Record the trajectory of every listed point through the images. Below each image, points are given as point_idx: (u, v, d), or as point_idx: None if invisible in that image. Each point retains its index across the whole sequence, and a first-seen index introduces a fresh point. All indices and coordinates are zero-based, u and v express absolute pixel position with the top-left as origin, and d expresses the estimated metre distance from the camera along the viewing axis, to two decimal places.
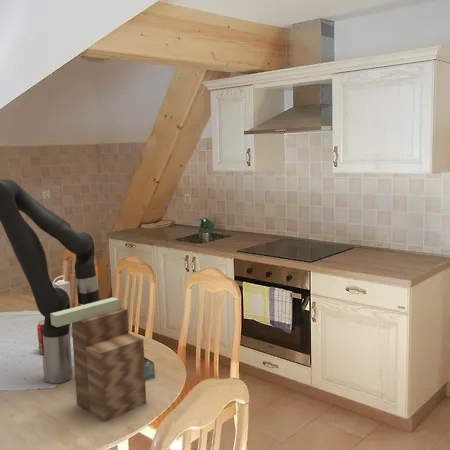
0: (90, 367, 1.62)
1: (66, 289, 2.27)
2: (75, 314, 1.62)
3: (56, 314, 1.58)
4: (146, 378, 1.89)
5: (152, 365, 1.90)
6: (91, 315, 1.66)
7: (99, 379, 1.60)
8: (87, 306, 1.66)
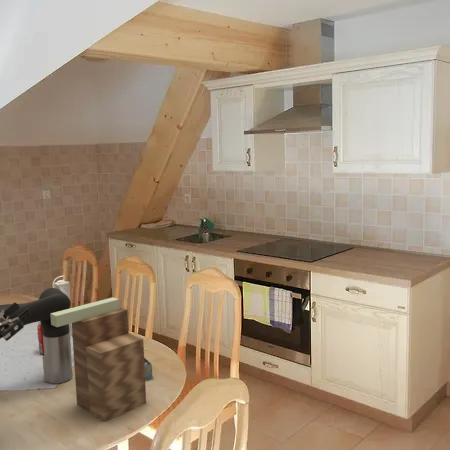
0: (90, 367, 1.62)
1: (66, 289, 2.27)
2: (75, 314, 1.62)
3: (56, 314, 1.58)
4: None
5: (149, 366, 1.88)
6: (91, 315, 1.66)
7: (99, 379, 1.60)
8: (87, 306, 1.66)
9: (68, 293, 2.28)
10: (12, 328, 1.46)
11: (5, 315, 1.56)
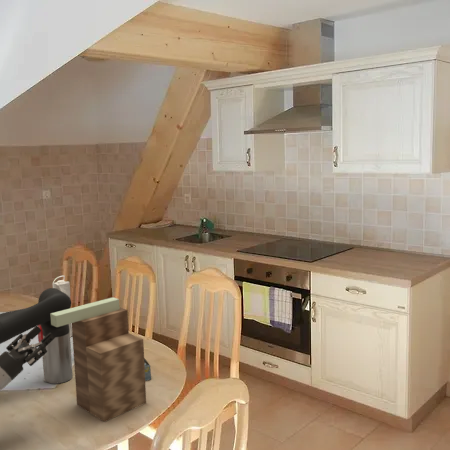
0: (90, 367, 1.62)
1: (66, 289, 2.27)
2: (75, 314, 1.62)
3: (56, 314, 1.58)
4: None
5: (148, 367, 1.88)
6: (91, 315, 1.66)
7: (99, 379, 1.60)
8: (87, 306, 1.66)
9: (68, 293, 2.28)
10: (36, 353, 1.48)
11: (27, 339, 1.58)
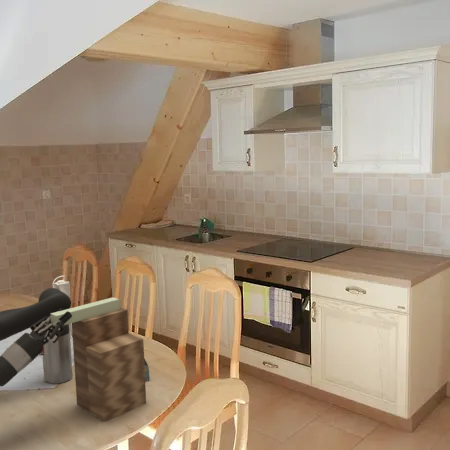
0: (90, 367, 1.62)
1: (66, 289, 2.27)
2: (75, 314, 1.62)
3: (56, 314, 1.58)
4: None
5: (146, 368, 1.87)
6: (91, 315, 1.66)
7: (99, 379, 1.60)
8: (87, 306, 1.66)
9: (68, 293, 2.28)
10: (57, 330, 1.54)
11: None
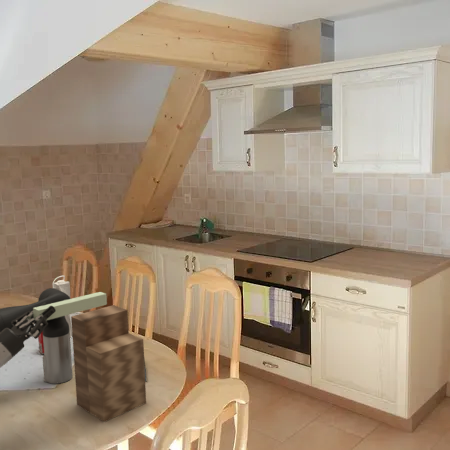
0: (90, 367, 1.62)
1: (66, 289, 2.27)
2: (59, 309, 1.55)
3: (39, 308, 1.51)
4: None
5: None
6: (76, 310, 1.59)
7: (99, 379, 1.60)
8: (72, 300, 1.59)
9: (68, 293, 2.28)
10: (39, 325, 1.46)
11: None
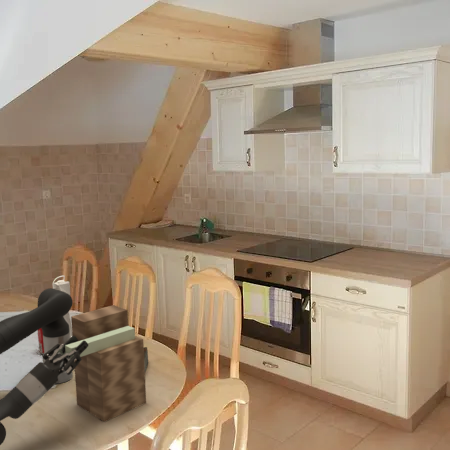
0: (90, 367, 1.62)
1: (66, 289, 2.27)
2: (91, 345, 1.57)
3: (71, 346, 1.54)
4: None
5: None
6: (106, 346, 1.61)
7: (99, 379, 1.60)
8: (102, 336, 1.61)
9: (68, 293, 2.28)
10: (72, 361, 1.48)
11: None
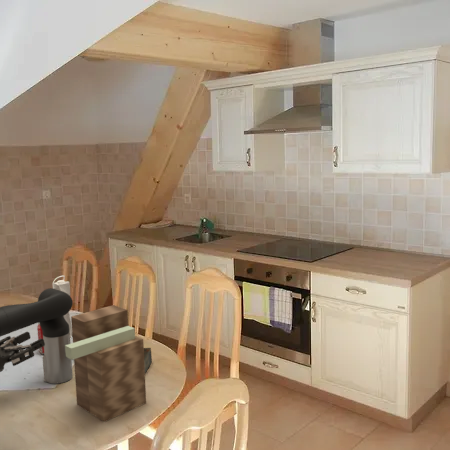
0: (90, 367, 1.62)
1: (66, 289, 2.27)
2: (91, 345, 1.57)
3: (71, 346, 1.54)
4: None
5: None
6: (106, 346, 1.61)
7: (99, 379, 1.60)
8: (102, 336, 1.61)
9: (68, 293, 2.28)
10: (23, 354, 1.40)
11: (14, 342, 1.50)
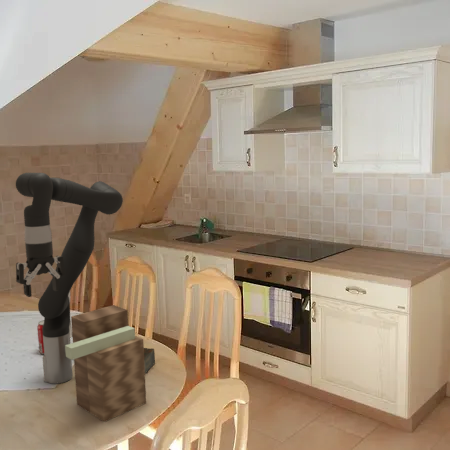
0: (90, 367, 1.62)
1: None
2: (91, 345, 1.57)
3: (71, 346, 1.54)
4: None
5: None
6: (106, 346, 1.61)
7: (99, 379, 1.60)
8: (102, 336, 1.61)
9: None
10: (19, 274, 1.51)
11: (54, 275, 1.60)
